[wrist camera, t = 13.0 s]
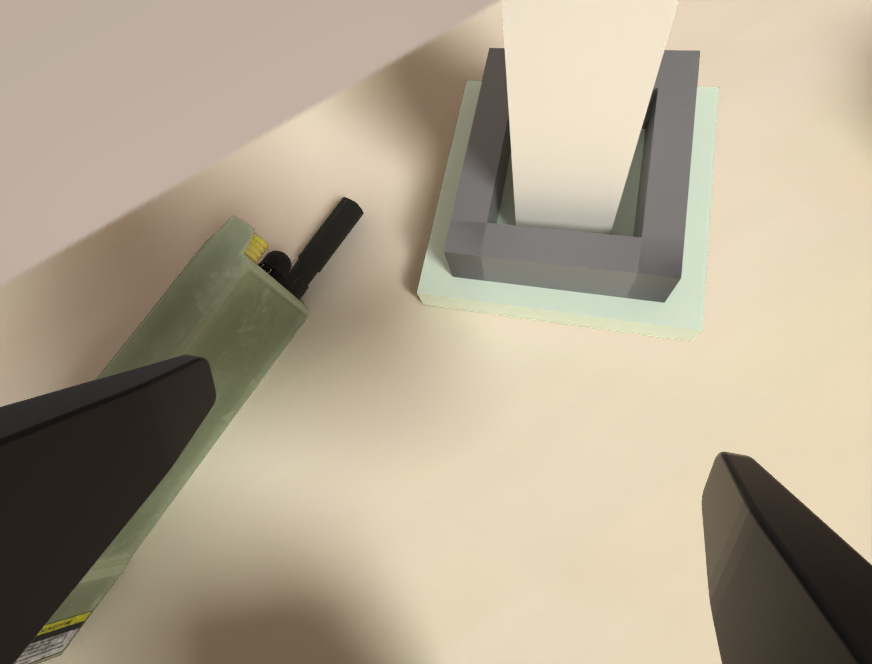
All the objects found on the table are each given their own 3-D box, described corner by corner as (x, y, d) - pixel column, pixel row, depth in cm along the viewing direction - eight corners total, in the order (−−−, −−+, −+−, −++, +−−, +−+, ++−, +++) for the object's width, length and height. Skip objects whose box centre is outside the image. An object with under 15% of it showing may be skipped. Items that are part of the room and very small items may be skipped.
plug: (608, 241, 22) (701, -74, 10) (516, 233, 23) (497, -64, 11) (622, 124, 24) (715, -270, 11) (536, 120, 25) (538, -248, 12)
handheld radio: (23, 617, 23) (337, 202, 27) (67, 666, 23) (385, 229, 26) (-158, 667, 17) (284, 118, 21) (-109, 737, 16) (344, 149, 20)
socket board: (691, 341, 21) (724, 309, 18) (423, 304, 24) (403, 269, 21) (708, 110, 25) (739, 41, 21) (469, 101, 27) (460, 39, 24)
